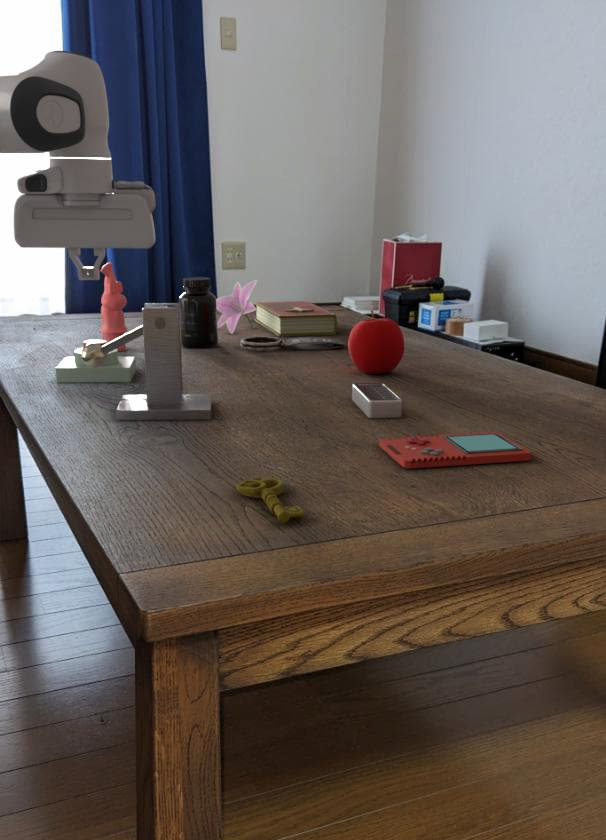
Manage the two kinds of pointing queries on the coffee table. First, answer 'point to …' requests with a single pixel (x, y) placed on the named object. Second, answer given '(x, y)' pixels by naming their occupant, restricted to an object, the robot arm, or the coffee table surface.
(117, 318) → the figurine
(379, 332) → the fruit
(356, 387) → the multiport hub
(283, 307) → the book
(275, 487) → the key
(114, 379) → the box
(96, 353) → the lock lever
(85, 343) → the button
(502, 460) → the handheld gaming console
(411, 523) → the coffee table surface
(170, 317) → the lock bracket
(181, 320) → the supplement bottle
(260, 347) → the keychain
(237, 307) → the lily
